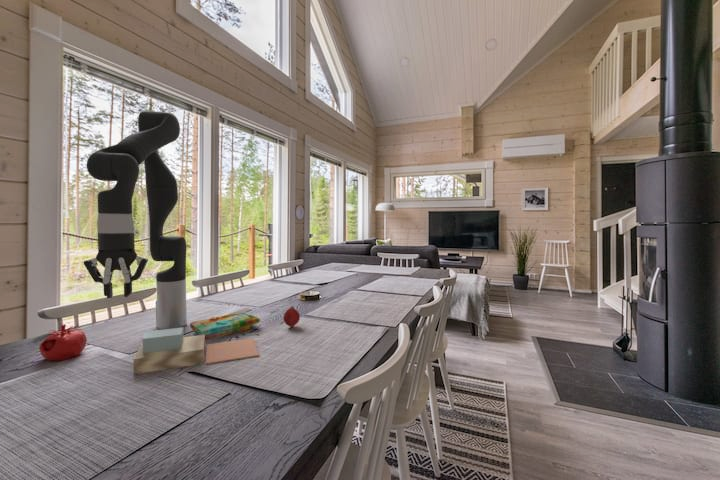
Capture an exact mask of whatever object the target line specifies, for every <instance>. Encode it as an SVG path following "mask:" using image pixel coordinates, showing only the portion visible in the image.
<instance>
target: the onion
mask: <svg viewBox="0 0 720 480" xmlns="http://www.w3.org/2000/svg"><path fill="white" fill-rule="evenodd" d="M294 307H295V306H294V305H292V306H290V307H289V308H288V309H287V310H286V311H285V312H284V315H283V321H284V323H285V324H286V325H287V326H289V328H293V327H295V326H296V325H297V324H298V323H299V322H300V319H301V318H300V316H301V314H300V312H299V311H298V310H297V309H296V308H294Z"/></svg>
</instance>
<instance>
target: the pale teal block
mask: <svg viewBox="0 0 720 480" xmlns="http://www.w3.org/2000/svg"><path fill="white" fill-rule="evenodd" d="M184 334H185V332H184V326H183V327H180V328H173V329H164V330H161V329H156V330H148V331H146V332H145V334H144V336H143V337H142V340H141V341H142V343H143V354H144V353H151V352H159V351H166V350H173V349H181V348H182V345H183V341H184V337H185V336H184Z"/></svg>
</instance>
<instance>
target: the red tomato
mask: <svg viewBox="0 0 720 480" xmlns="http://www.w3.org/2000/svg"><path fill="white" fill-rule="evenodd" d="M72 328H75V326H69V327H68V328H67V329H66V324H62V325H60V329H61V330H54V329H52V330H49V331H48V333H49V332H51V333H49V334H48V335H45V337H46V338H45V339H44V340H43V341H41V342H40V344H39V347H38V351H39V352H40V355H41V356H42V358H44V359H45V360H47V361H50V362H51V361H53V362H54V361H64V360H68V359H71V358H75V357H77V356H79V355H80V354H81V353H82V352H83V351H84V349H86V344H87V342H88V339H87V335H86V333H85V332H84V331H82V328H81V329H80V328H76V329H72ZM52 332H53V333H52Z"/></svg>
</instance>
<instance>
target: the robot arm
mask: <svg viewBox="0 0 720 480" xmlns="http://www.w3.org/2000/svg"><path fill="white" fill-rule="evenodd" d="M137 127H138V131H137V132H135V133H132V134H129V135H128V136H127V135H126V136H125V137H124V138H123V139H122V140H120V141H119V142H118V143H116V144H113V145H109V146H106V147H104V148H102V149H99V150H96V151H94V152H92V153H91V155H90V156H89V157H88V159H87V161H86V170H87V172H88V174H89V175H90V176H91V177H92V178H94V179H95V180H97V181H103V182H116V184H114V185H115V186H114V187H113V188H110V189H105V190H101V191H99V192H98V194H97V213H98V214H97V221H96V227H97V251H98V252H97V254H96V256H95V257H94V258H92V259H87V260H84V261H83V265H84V267H85V269H86V270H87V272H88V273H89V275H90V276H91V278H92V280H93V282H95V283H99V284H100V283H101V284H103V296H104V297H106V298H107V299H111V298H113V295H114V294H113V282H112V279H113V274H114V272H115V271H121V274H122V275H123V279H124V283H123V295H124V296H123V297H124V298H128V297H130V295H131V294H132V292H133V282H134V281H137V280H138V279H140V278H141V276H142V275H143V272H144V270H145V268H146V265H147V263H148V261H149V259H148V257H142V256H138V254H137V253H136V249H135V248H136V247H135V223H134V218H133V217H134V216H133V196H134V192H135V188H136V185H137V181H138V178H139V176H140V175H139V174H140V165H141V164H142V163H143V164H144V174H145V175H144V176H145V189H146V190H145V191H146V200H147V208H148V216H149V252H150V256H151V259H152V260H153V261H154V262H173V265H172V266H171V267H170V268H167V269H165V270H164V269H163V270H161V271H159V272H157V273H156V274H155V275H156V276H155V277H156V284H155V285H156V301H155V326H156V327H157V328H158V329H157V330H164V329H173V328H182V327H183V328H184V327H185V326H187V324H188V323H187V321H188V320H187V318H188V317H187V316H188V315H187V313H188V311H187V281H186V279H187V277H186V276H187V275H186V274H187V273H186V271H187V240H186V238H185V237H184V236H182V235H164V225H165V224H166V223H165V222H166V220H167V219H168V217H169V215H170V214H171V213H172V211H173V210H174V208H175V206H176V205H177V202H178V200H179V191H178V182H177V179H176V177H175V175H174V173H173V172H172V171H171V169H170V168H169V167H168V165H167V163H165V161H164V160H163V158H162V156H161V155H160V152H159V150H160V149H161V148H163V147H165V146H166V145H168V144H170V143H173V142H175V141H177V139H179V137H180V133H181V127H180V122H179V120H178V118H177V117H176V115H175V114H173V113H170V112H166V111H165V112H164V111H153V110H142V111H140V112H139V114H138V116H137ZM135 261H136V265H137V268H136V270H135V272H134V275H132V269H131V266H132V264H133V263H134V262H135ZM98 263H99V264H100V265H101V266H102V267H103V268H104V270H103V275H102V274H101V273H100V270H99V269H98V267H97V266H98Z"/></svg>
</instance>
